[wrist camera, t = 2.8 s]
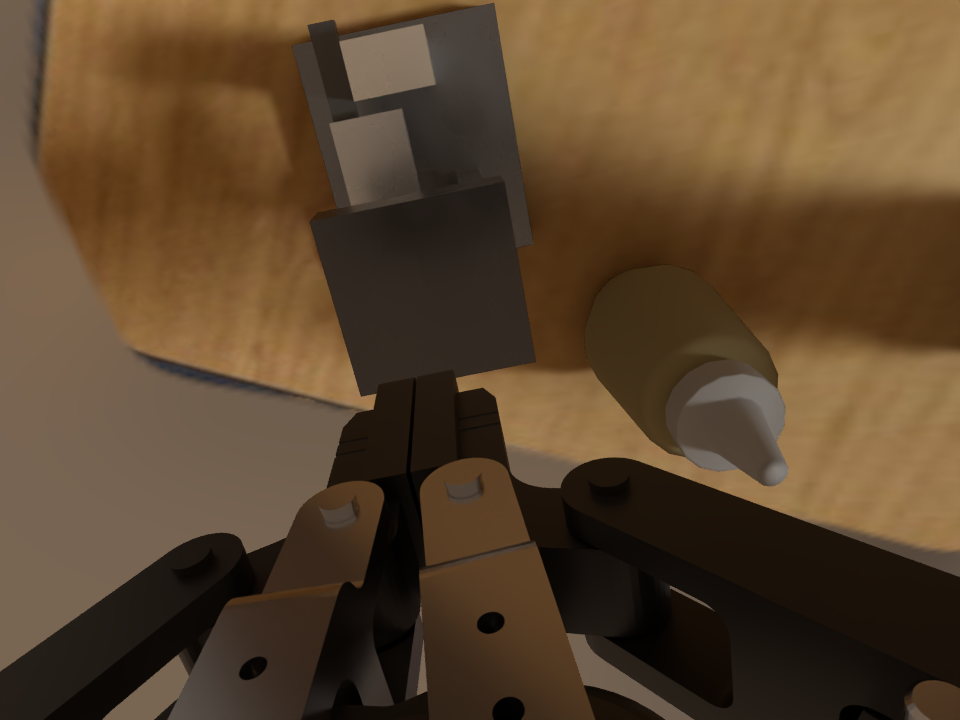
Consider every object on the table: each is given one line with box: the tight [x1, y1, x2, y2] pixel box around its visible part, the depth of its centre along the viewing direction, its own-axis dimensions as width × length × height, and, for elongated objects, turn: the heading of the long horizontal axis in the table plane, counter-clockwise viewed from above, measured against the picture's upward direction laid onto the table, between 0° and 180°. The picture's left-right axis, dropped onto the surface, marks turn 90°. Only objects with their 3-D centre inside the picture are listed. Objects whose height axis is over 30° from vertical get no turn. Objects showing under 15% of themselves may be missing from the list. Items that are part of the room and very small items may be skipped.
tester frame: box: [292, 3, 533, 248], centre depth 31 cm, size 12×10×12 cm
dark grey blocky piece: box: [310, 108, 536, 397], centre depth 25 cm, size 8×6×10 cm
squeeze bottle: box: [584, 264, 788, 486], centre depth 32 cm, size 8×8×18 cm
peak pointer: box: [308, 20, 359, 122], centre depth 27 cm, size 6×1×1 cm, turn 11°
